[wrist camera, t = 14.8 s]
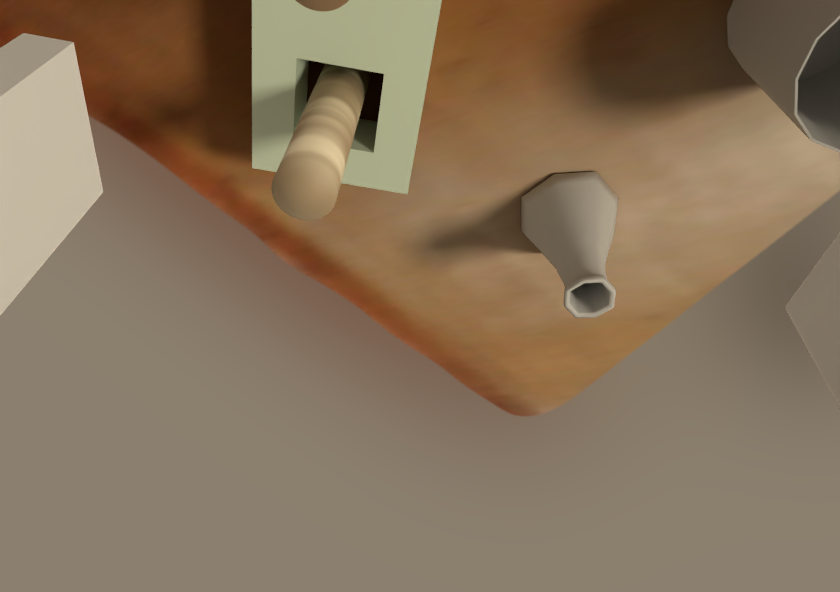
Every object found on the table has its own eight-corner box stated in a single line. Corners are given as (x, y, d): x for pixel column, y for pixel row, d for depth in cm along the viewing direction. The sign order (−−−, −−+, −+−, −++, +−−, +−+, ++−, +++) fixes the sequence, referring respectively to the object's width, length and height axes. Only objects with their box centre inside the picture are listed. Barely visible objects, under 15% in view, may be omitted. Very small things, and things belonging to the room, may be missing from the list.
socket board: (274, -235, 31) (251, -236, 28) (473, -193, 32) (475, -188, 29) (268, 136, 44) (252, 167, 41) (411, 161, 45) (407, 194, 41)
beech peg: (325, 45, 40) (272, 158, 28) (373, 54, 40) (339, 170, 29) (321, 91, 42) (270, 214, 30) (367, 99, 42) (333, 225, 31)
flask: (605, 154, 44) (636, 235, 36) (628, 235, 48) (661, 324, 40) (505, 189, 46) (514, 273, 38) (535, 264, 50) (549, 354, 42)
